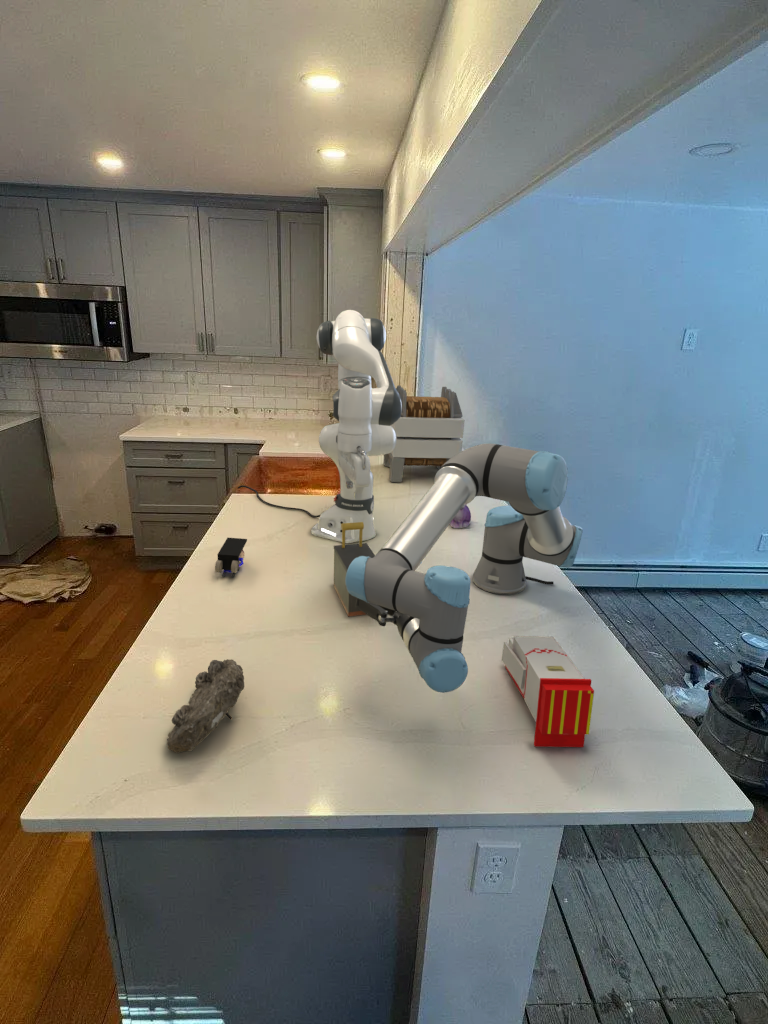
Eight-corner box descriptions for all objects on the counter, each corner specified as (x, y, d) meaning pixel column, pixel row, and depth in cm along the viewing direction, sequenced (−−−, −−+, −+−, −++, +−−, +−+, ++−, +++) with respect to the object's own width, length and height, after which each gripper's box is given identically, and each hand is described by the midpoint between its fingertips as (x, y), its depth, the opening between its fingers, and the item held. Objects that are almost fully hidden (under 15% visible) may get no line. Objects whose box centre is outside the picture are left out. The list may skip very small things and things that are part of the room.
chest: (333, 585, 161) (334, 549, 157) (365, 582, 164) (367, 547, 160) (348, 616, 145) (349, 577, 141) (383, 612, 148) (385, 573, 144)
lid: (333, 548, 158) (333, 521, 155) (366, 545, 160) (367, 519, 158) (349, 577, 141) (349, 547, 139) (385, 573, 144) (387, 544, 141)
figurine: (456, 530, 205) (460, 491, 199) (441, 521, 213) (444, 483, 208) (477, 527, 209) (481, 488, 204) (461, 518, 217) (465, 480, 212)
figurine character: (238, 584, 162) (249, 557, 175) (236, 562, 158) (247, 536, 172) (215, 584, 161) (227, 556, 175) (212, 561, 158) (225, 535, 171)
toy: (550, 619, 129) (603, 686, 100) (544, 673, 132) (595, 754, 102) (497, 618, 128) (535, 685, 99) (492, 672, 131) (528, 753, 102)
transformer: (382, 463, 289) (386, 382, 275) (445, 464, 293) (451, 384, 279) (390, 482, 257) (394, 392, 243) (460, 483, 261) (468, 394, 247)
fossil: (192, 660, 117) (244, 628, 112) (224, 691, 120) (276, 661, 115) (142, 746, 98) (202, 712, 93) (182, 779, 101) (242, 748, 96)
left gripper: (377, 451, 139) (375, 505, 143) (356, 434, 157) (355, 481, 162) (352, 452, 137) (351, 506, 141) (334, 434, 155) (333, 482, 160)
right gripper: (353, 649, 103) (337, 602, 123) (480, 652, 109) (445, 607, 129) (358, 611, 101) (341, 570, 121) (487, 616, 107) (451, 576, 127)
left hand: (353, 493), depth 152 cm, fingers open, 8 cm apart
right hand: (395, 589), depth 125 cm, fingers open, 13 cm apart
